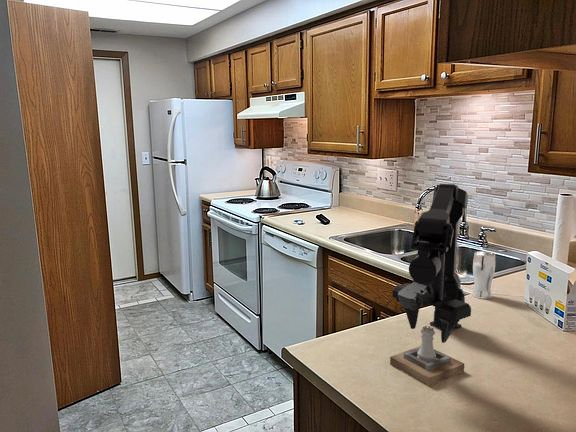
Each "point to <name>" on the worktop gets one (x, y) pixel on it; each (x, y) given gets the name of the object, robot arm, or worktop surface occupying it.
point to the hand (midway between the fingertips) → (427, 335)
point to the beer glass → (483, 274)
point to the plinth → (427, 366)
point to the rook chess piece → (427, 345)
